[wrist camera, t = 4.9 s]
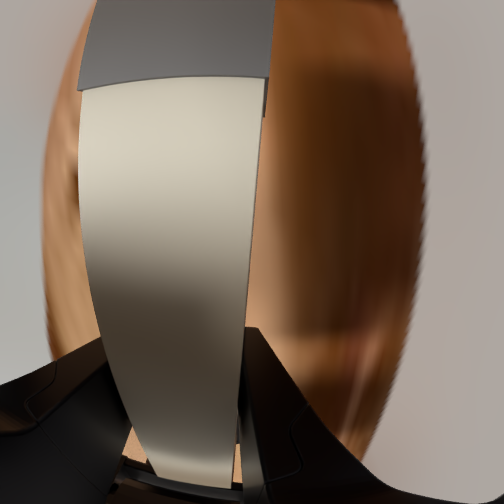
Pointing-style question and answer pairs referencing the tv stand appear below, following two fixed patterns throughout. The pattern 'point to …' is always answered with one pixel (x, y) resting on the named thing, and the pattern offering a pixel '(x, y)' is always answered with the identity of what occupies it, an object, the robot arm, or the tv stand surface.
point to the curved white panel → (174, 213)
